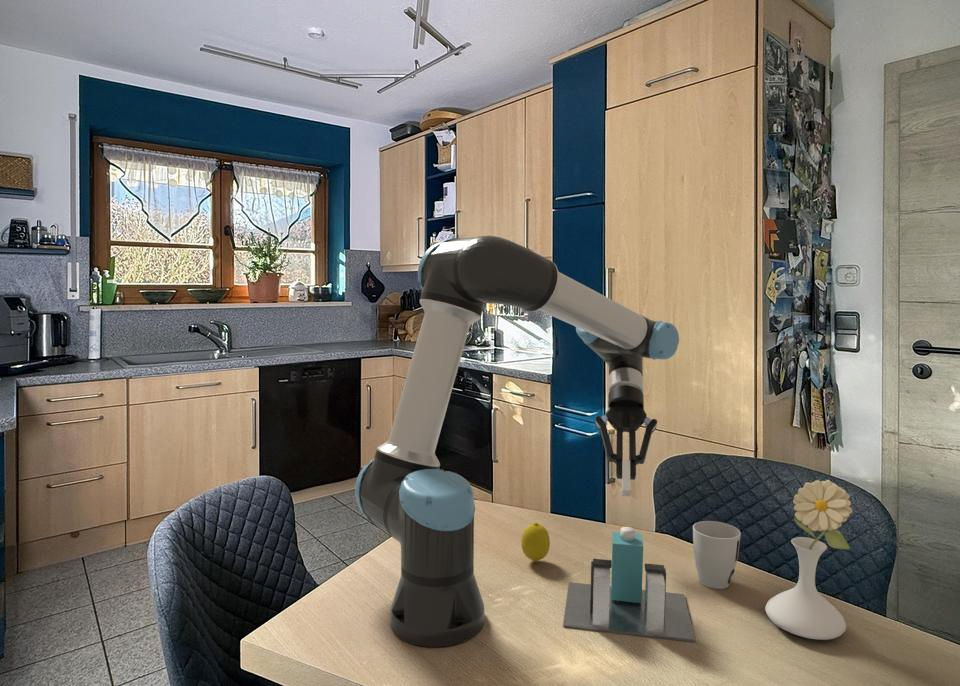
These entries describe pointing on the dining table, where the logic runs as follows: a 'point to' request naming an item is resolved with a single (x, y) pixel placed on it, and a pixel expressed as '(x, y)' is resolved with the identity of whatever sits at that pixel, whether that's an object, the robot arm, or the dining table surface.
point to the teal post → (627, 566)
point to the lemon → (535, 542)
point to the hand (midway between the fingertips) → (626, 493)
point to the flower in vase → (813, 564)
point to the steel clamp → (628, 606)
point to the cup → (715, 552)
